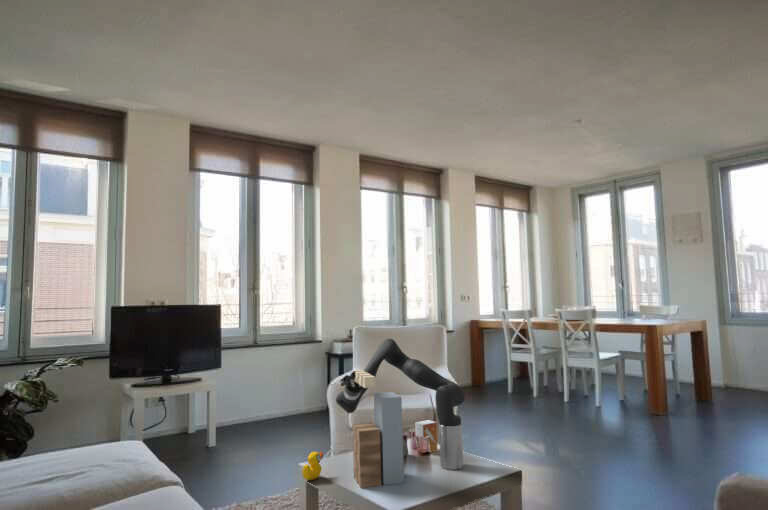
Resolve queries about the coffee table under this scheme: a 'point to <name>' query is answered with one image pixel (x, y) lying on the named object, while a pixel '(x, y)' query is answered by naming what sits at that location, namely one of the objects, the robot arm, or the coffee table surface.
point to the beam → (364, 379)
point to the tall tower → (390, 436)
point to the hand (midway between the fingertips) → (360, 373)
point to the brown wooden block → (366, 455)
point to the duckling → (312, 466)
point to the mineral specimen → (405, 448)
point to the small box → (428, 432)
